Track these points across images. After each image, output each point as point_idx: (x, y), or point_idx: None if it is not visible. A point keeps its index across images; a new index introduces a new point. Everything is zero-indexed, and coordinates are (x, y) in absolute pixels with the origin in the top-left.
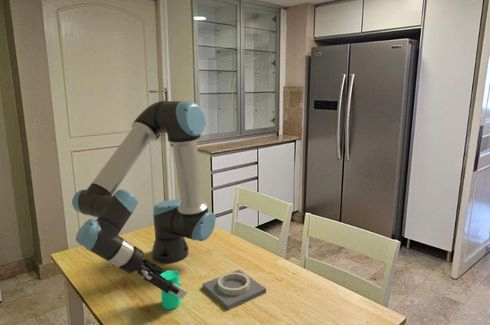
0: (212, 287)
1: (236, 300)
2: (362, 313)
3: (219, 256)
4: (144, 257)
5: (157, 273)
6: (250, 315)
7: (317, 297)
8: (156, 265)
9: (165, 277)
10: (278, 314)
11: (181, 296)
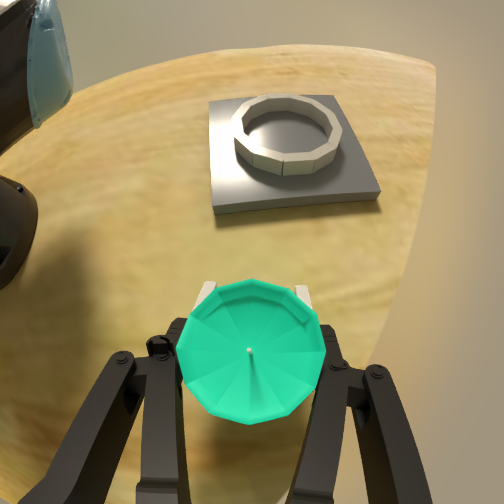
0: (258, 185)
1: (363, 161)
2: (422, 70)
3: (102, 128)
4: (43, 497)
5: (315, 478)
6: (410, 169)
7: (376, 71)
8: (102, 401)
9: (257, 388)
10: (415, 130)
11: None
